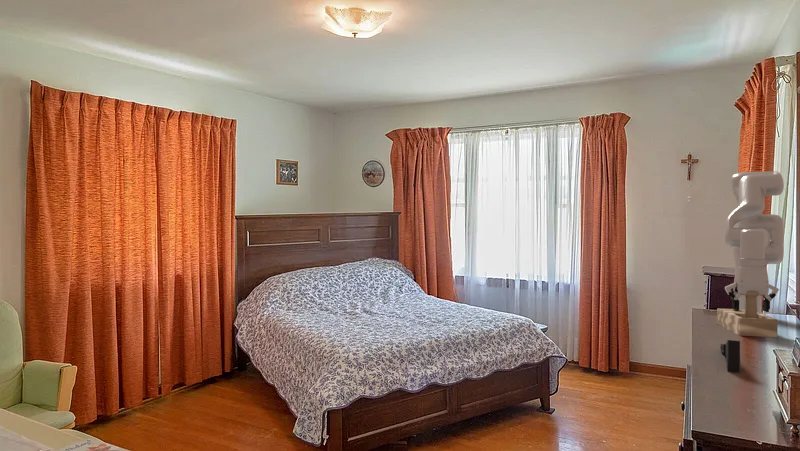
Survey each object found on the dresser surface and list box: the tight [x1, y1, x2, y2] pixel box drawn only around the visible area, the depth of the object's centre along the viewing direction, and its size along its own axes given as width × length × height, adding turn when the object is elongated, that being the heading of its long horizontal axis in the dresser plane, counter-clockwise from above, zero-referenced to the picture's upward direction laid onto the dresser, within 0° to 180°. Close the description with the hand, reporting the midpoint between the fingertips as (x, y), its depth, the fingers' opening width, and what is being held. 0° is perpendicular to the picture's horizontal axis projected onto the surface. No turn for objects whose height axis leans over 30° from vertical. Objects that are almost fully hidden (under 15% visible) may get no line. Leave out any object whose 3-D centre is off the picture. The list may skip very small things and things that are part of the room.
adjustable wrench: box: [719, 339, 741, 374], centre depth 158 cm, size 8×3×25 cm
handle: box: [745, 291, 759, 318], centre depth 196 cm, size 5×6×15 cm
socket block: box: [716, 308, 779, 338], centre depth 200 cm, size 20×12×6 cm, turn 170°
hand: (750, 310), depth 196 cm, fingers open, 9 cm apart
